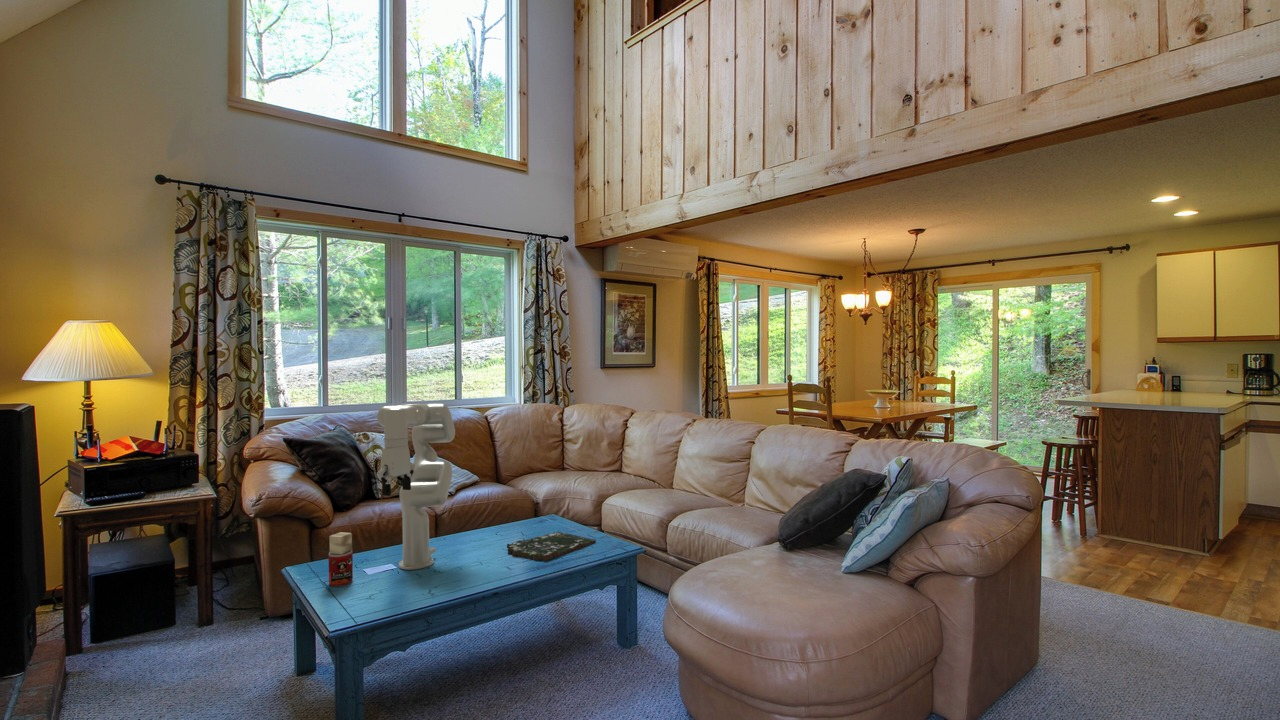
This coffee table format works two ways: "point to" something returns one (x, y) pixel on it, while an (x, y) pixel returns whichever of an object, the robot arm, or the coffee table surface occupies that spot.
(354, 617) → the coffee table surface
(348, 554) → the canned food
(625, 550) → the coffee table surface
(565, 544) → the topographical map
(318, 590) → the coffee table surface
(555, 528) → the coffee table surface
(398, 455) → the robot arm
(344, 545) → the beech block
